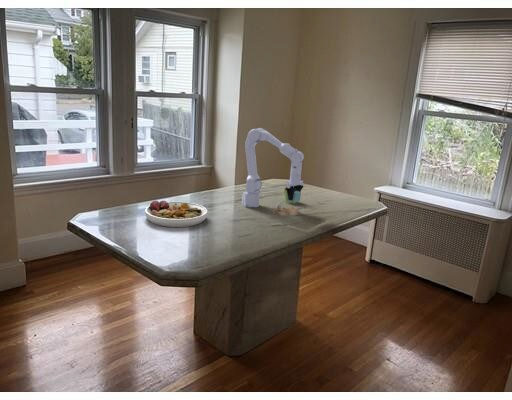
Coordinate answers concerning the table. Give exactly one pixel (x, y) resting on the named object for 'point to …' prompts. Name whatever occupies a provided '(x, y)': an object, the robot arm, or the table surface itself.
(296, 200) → the blue cube with slot
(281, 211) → the panel
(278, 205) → the key post
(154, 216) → the bowl
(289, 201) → the plant pot
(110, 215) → the table surface
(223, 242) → the table surface
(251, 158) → the robot arm
